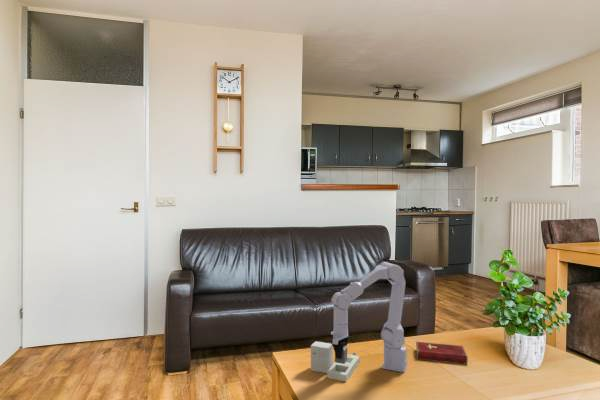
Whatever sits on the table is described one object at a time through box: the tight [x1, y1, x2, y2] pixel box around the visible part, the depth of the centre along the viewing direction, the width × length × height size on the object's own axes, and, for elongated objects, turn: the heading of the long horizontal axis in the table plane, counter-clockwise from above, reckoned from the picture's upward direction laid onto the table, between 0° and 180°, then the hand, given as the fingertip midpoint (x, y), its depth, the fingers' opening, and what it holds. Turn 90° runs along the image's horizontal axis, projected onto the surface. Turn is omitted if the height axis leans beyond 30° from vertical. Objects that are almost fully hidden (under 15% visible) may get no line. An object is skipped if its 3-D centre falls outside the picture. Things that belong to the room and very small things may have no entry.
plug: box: [334, 345, 348, 364], centre depth 155 cm, size 4×4×6 cm
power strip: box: [326, 352, 361, 383], centre depth 163 cm, size 8×27×3 cm, turn 156°
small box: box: [310, 341, 334, 374], centre depth 160 cm, size 8×6×10 cm
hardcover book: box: [415, 341, 469, 364], centre depth 174 cm, size 12×21×4 cm, turn 75°
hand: (340, 356), depth 155 cm, fingers closed on plug, 4 cm apart
